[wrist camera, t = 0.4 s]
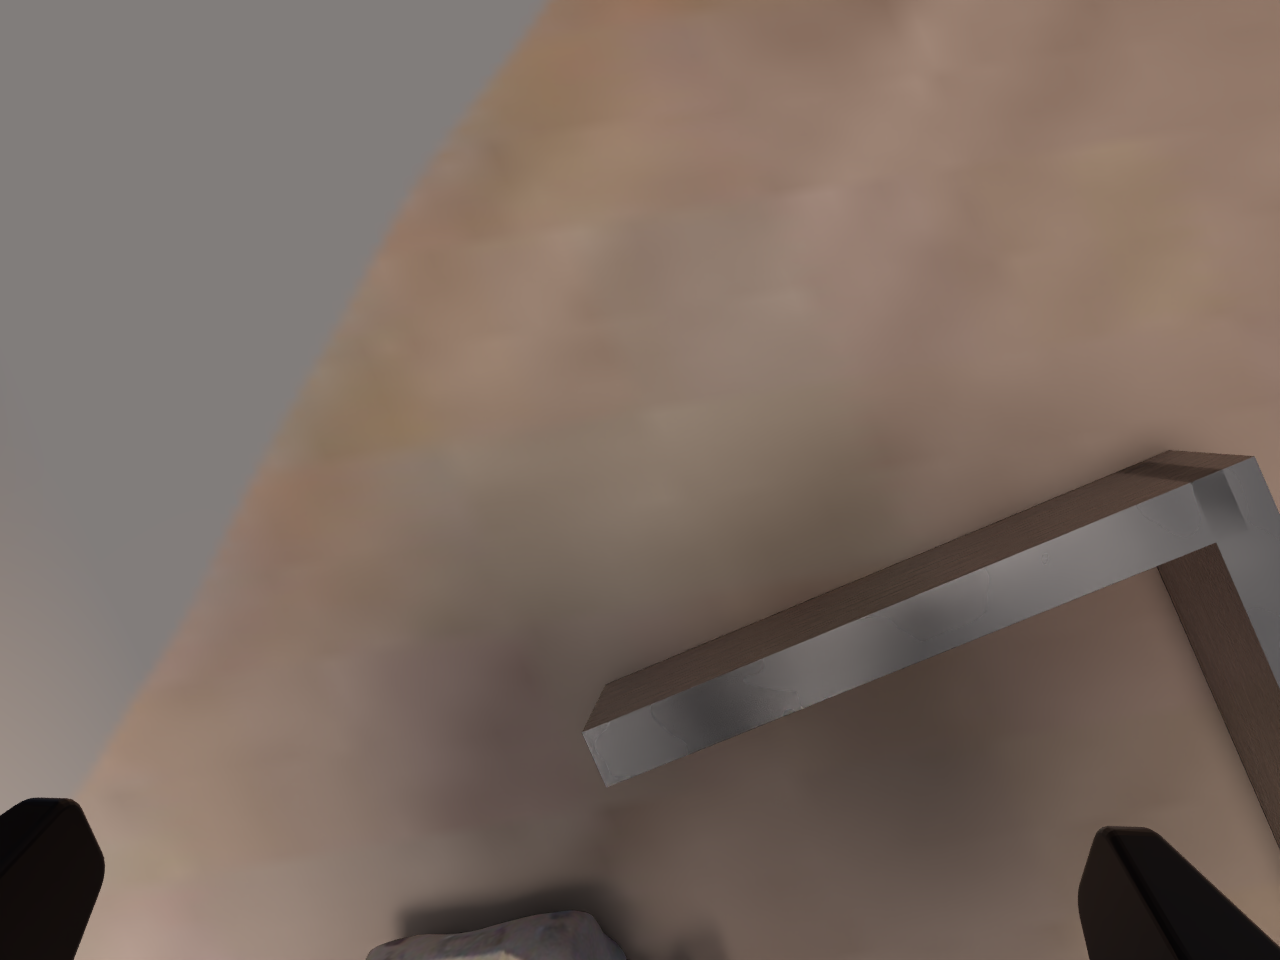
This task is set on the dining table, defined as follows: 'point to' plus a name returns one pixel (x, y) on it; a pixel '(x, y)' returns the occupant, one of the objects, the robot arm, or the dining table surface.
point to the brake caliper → (512, 941)
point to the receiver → (996, 615)
